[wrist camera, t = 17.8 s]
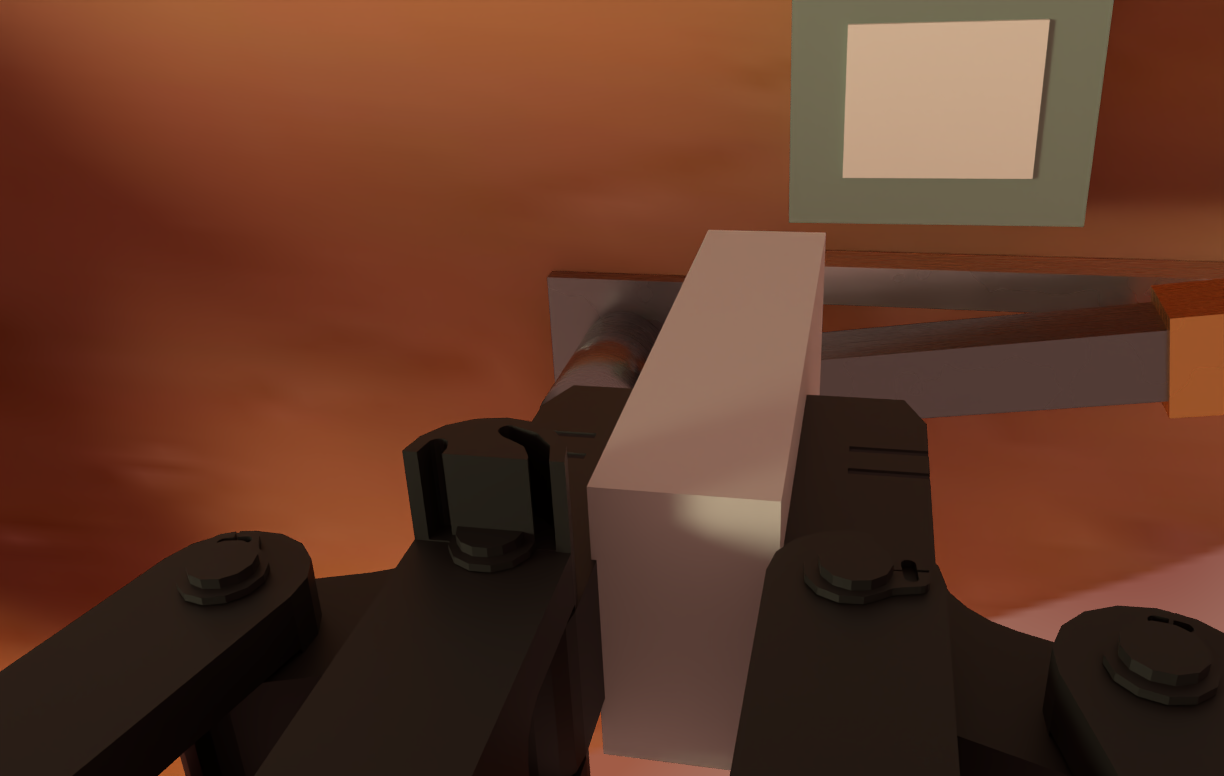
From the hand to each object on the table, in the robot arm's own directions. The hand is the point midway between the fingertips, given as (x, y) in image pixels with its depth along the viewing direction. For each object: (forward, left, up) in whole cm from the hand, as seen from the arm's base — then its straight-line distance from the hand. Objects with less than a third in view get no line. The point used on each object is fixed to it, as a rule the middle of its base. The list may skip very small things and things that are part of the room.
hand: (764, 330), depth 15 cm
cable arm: (+3, -8, -17) cm, 19 cm away
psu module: (+3, 0, -20) cm, 20 cm away
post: (-6, -9, -20) cm, 23 cm away
